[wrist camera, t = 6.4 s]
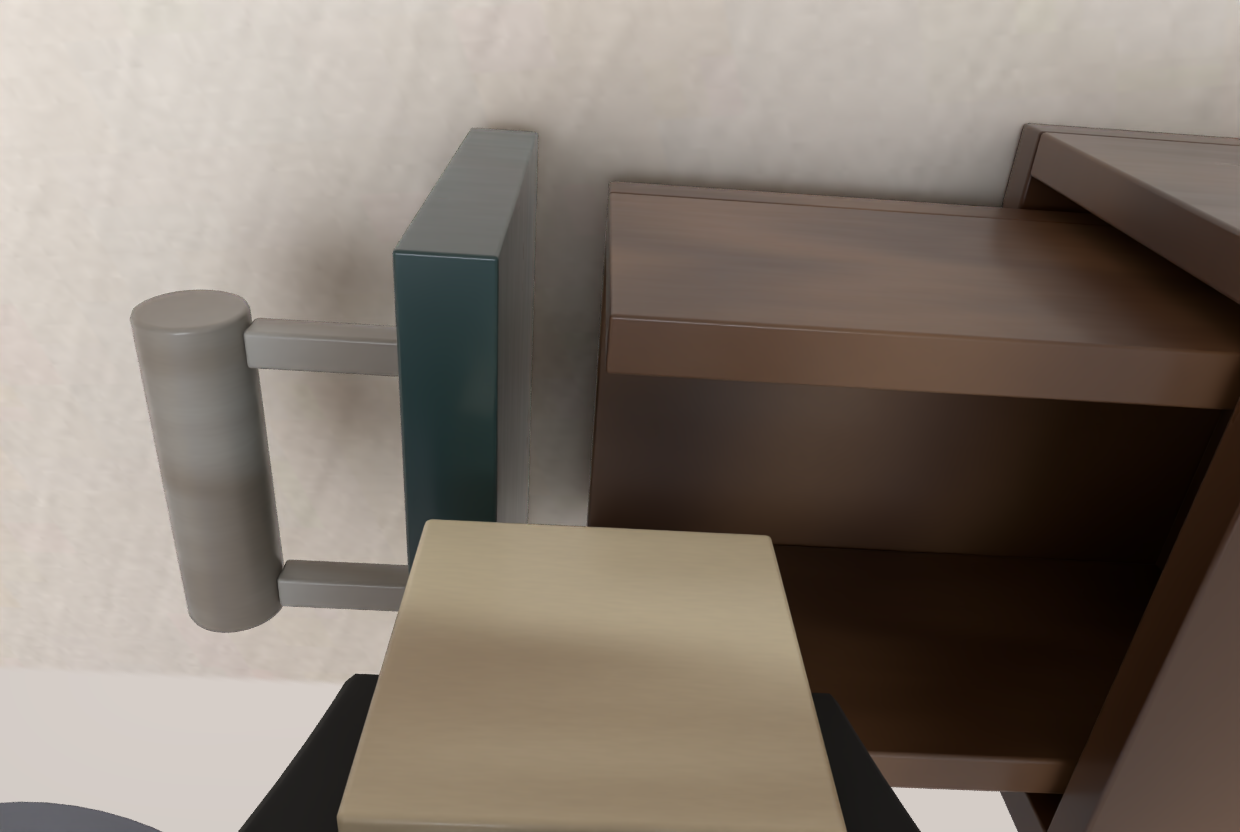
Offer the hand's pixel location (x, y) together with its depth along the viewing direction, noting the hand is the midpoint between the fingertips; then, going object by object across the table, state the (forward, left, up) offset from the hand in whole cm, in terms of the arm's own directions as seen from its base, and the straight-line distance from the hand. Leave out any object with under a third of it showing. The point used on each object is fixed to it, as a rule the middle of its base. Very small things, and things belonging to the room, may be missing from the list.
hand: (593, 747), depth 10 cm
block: (0, 0, -1) cm, 1 cm away
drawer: (+1, -3, -10) cm, 10 cm away
